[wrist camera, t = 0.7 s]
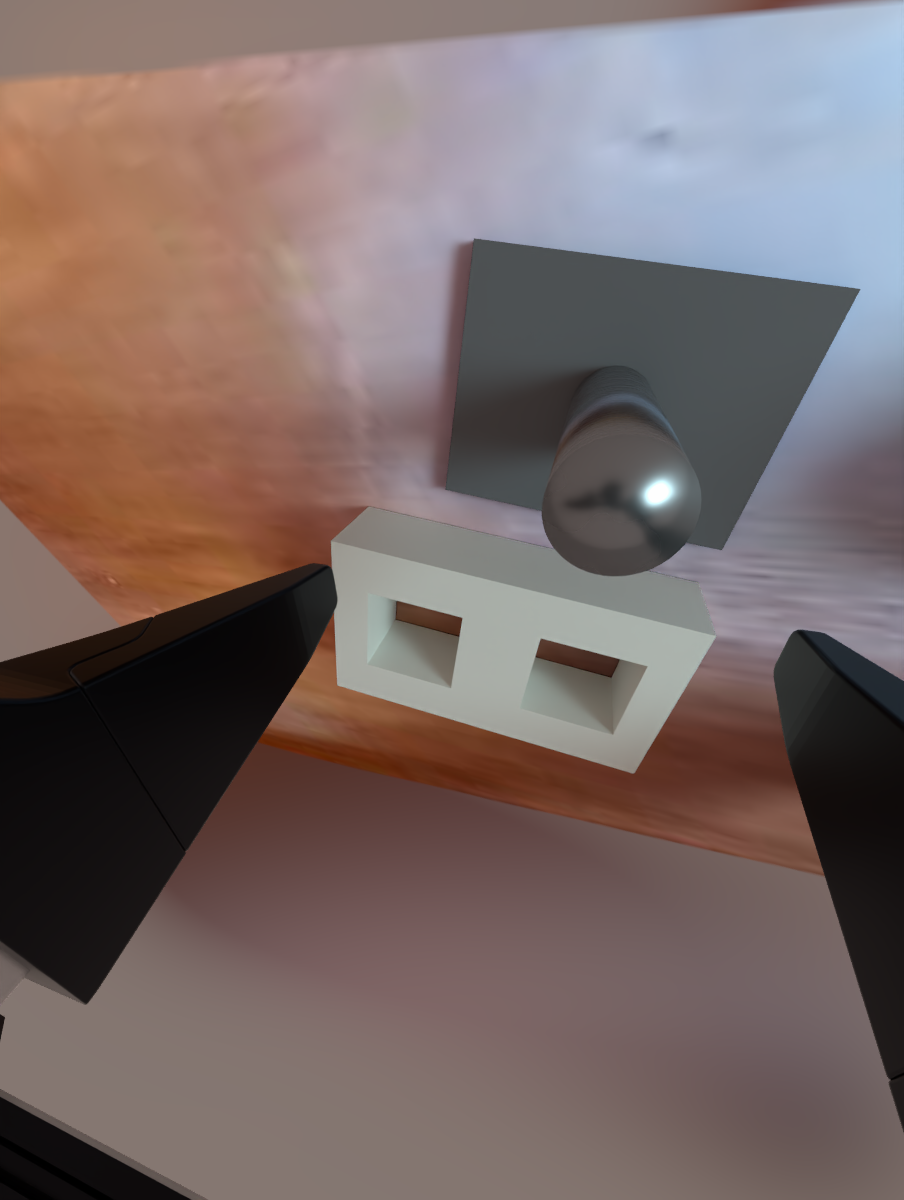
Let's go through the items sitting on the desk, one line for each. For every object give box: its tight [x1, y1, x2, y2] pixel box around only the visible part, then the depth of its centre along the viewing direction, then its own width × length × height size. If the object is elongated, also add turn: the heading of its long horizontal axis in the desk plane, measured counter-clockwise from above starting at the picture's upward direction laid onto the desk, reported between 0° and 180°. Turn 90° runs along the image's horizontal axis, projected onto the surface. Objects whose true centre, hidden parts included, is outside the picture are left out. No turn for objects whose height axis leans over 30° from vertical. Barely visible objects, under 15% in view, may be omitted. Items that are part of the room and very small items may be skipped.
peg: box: [542, 366, 702, 576], centre depth 13 cm, size 3×3×10 cm
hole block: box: [331, 507, 716, 774], centre depth 23 cm, size 16×9×4 cm, turn 83°
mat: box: [446, 239, 860, 550], centre depth 17 cm, size 12×9×1 cm
